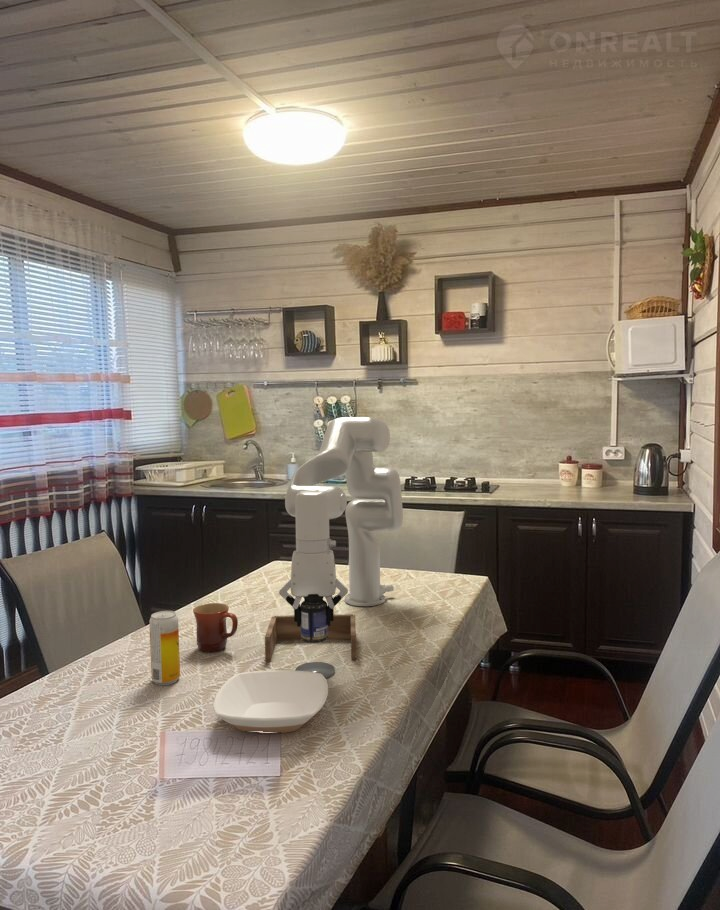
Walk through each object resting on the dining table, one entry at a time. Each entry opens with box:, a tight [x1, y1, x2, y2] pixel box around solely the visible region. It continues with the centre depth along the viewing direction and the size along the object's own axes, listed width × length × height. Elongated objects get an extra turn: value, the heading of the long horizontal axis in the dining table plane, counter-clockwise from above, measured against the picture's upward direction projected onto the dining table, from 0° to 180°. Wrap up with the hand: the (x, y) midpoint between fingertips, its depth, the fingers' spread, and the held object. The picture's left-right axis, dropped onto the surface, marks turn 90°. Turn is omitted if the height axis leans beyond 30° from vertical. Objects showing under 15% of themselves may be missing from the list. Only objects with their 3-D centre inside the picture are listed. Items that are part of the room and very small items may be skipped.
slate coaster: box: [294, 661, 336, 680], centre depth 151 cm, size 9×9×1 cm
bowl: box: [212, 669, 329, 734], centre depth 129 cm, size 22×22×5 cm
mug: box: [192, 602, 239, 653], centre depth 165 cm, size 12×9×10 cm
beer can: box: [149, 610, 181, 686], centre depth 147 cm, size 6×6×15 cm
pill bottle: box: [300, 594, 328, 644], centre depth 150 cm, size 6×6×11 cm
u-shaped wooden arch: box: [264, 613, 357, 663], centre depth 165 cm, size 16×22×6 cm
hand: (314, 623), depth 150 cm, fingers closed on pill bottle, 6 cm apart
